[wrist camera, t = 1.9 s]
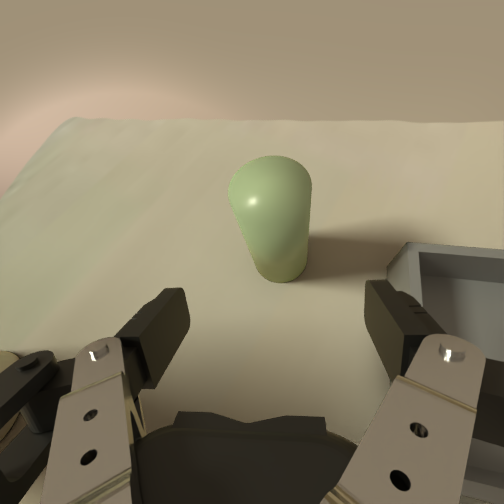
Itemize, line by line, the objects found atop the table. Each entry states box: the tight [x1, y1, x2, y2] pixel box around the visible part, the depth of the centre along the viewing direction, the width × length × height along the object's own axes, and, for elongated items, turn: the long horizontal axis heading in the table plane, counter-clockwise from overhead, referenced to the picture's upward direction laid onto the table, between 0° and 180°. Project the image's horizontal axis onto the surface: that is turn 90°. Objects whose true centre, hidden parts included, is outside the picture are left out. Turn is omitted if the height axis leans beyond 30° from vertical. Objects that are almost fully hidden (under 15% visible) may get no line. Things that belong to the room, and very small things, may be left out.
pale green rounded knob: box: [228, 156, 312, 283], centre depth 21 cm, size 5×5×11 cm
